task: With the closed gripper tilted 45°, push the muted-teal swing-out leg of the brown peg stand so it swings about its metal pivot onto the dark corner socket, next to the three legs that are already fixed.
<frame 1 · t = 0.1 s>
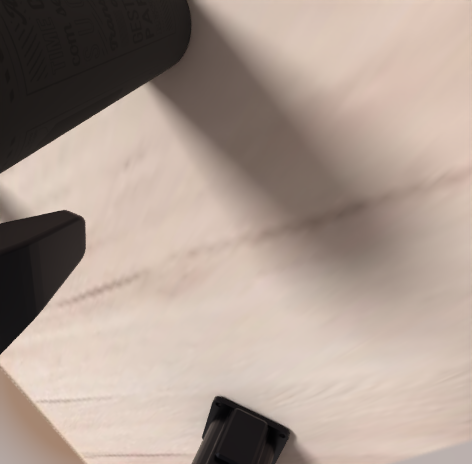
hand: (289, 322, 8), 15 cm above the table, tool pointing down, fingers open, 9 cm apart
drinking cup: (149, 19, 21), on the table
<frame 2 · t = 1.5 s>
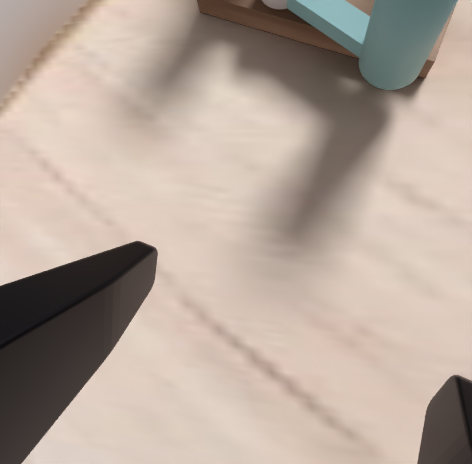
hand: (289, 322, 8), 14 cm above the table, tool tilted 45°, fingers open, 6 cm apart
brown peg stand: (409, 13, 24), on the table
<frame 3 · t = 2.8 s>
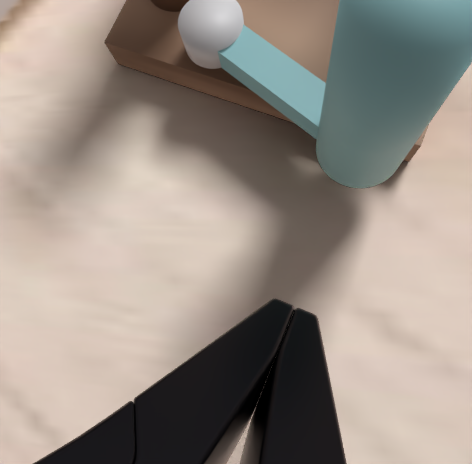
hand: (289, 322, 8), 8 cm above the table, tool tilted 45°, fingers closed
brown peg stand: (389, 71, 18), on the table
hinged leg: (286, 24, 12), point 6 cm above the table, hinge at 0.0°
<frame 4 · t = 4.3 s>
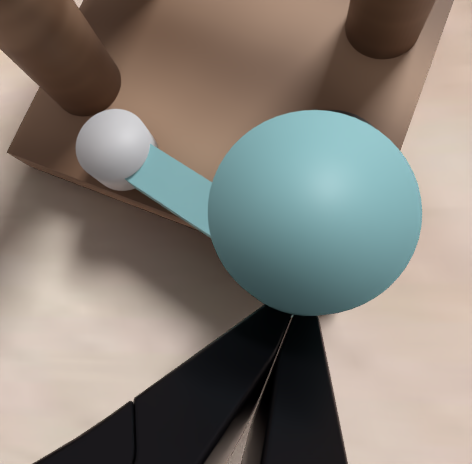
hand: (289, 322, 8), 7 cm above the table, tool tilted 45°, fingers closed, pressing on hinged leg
brown peg stand: (325, 178, 16), on the table
hinged leg: (184, 175, 10), point 6 cm above the table, hinge at 6.8°, touching gripper
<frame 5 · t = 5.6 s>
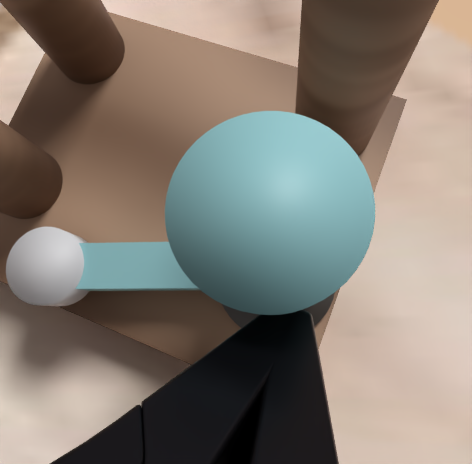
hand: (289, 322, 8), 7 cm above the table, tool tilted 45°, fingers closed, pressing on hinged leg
brown peg stand: (276, 282, 15), on the table
hinged leg: (130, 250, 10), point 6 cm above the table, hinge at 40.5°, touching gripper
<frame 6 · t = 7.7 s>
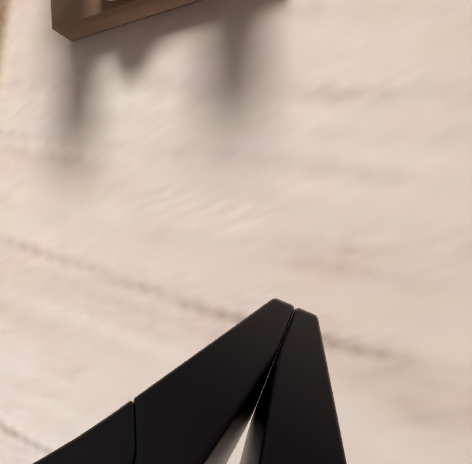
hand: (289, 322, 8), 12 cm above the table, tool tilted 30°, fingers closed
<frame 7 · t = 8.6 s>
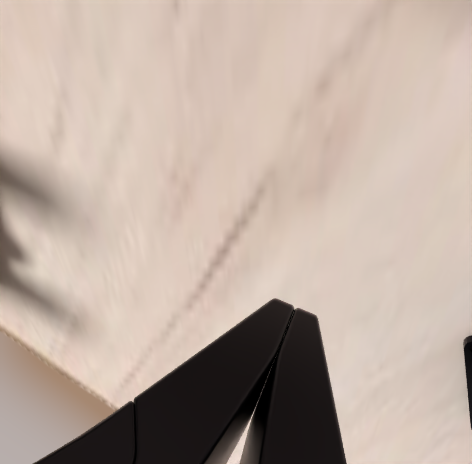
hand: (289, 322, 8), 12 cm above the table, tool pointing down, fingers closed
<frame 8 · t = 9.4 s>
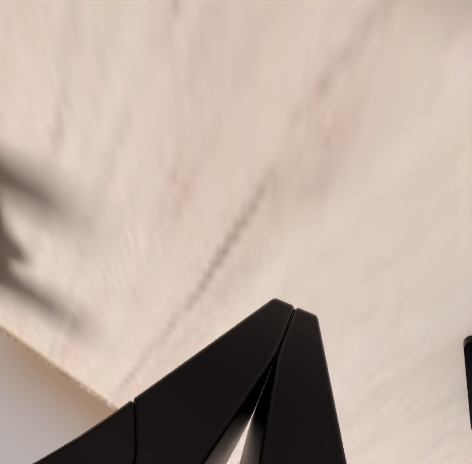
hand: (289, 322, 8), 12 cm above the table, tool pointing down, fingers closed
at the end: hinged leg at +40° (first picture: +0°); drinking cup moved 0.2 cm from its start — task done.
